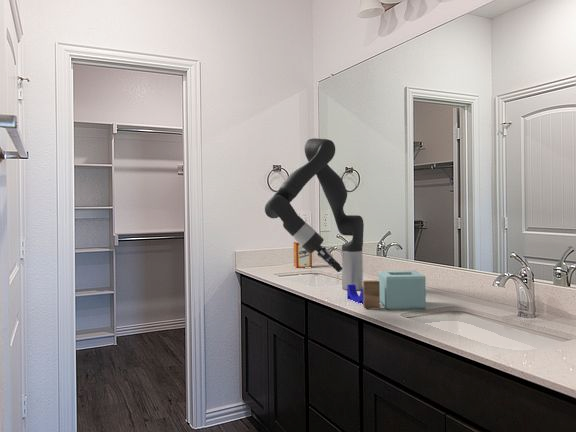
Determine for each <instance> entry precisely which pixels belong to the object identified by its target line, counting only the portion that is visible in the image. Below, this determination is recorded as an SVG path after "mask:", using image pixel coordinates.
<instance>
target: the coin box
mask: <svg viewBox="0 0 576 432" xmlns="http://www.w3.org/2000/svg"><path fill="white" fill-rule="evenodd" d="M378 279H379V280H378V281H379V282H380V305H382V306H383V307H384V309H395V310H394V311H397V310H399V311H400V310H401V311H402V310H404V311H405V310H413V311H414V310H415V311H417V310H427V309H426V308H427V305H426V304H427V303H426V301H427V300H426V297H427V296H426V293H427V292H426V287H427V285H426V275H423V274H422V273H420V272H418V271H417V270H379V271H378ZM396 309H397V310H396Z"/></svg>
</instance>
